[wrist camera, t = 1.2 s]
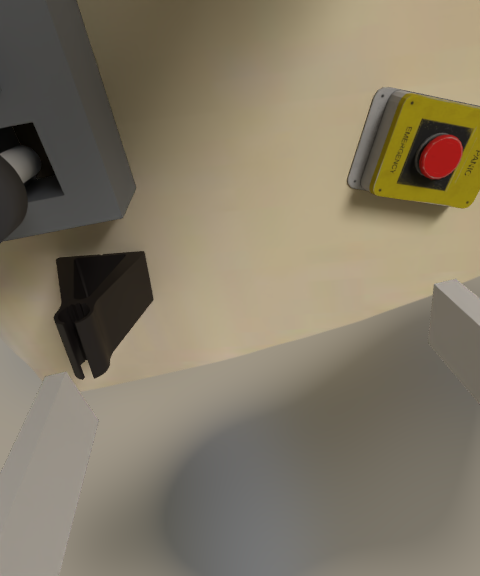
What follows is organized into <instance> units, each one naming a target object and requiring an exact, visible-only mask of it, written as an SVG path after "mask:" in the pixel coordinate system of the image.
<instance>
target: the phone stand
mask: <svg viewBox="0 0 480 576" xmlns="http://www.w3.org/2000/svg"><path fill="white" fill-rule="evenodd" d="M56 263H57V271H58V278H59V286H60V293H61V301H62V303H61V306H60V308H59V310H58V311H57V312H56V314H55V315H54V321H55V324H56V326H57V329H58V331H59V334H60V337H61V339H62V342H63V344H64V347H65V350H66V352H67V355H68V358H69V360H70V363H71V365H72V368H73V371H74V373H75V376H76V377H77V378H79V379H82V380H83V379H84V378H85V376H84V374H83V371H82V368H81V364H82V363H83V362H85V360H88V363H89V365H90V368H91V371H92V374H93V377H94V378H97V377H99V376H101V375H102V374H104V373H105V372H106V371H107V370H108V368H109V366H110V358H111V355H112V353H113V352H114V350H115V349H116V348H117V346H118V345H119V344H120V342H121V341H122V340H123V339H124V337H125V336H126V335H127V333H128V332H129V331H130V329H131V328H132V327H133V326H134V324H135V323H136V322H137V320H138V319H139V318H140V317H141V315H142V314H143V313H144V311H145V310H146V309H147V307H148V306H149V305H150V304H151V302H152V301H153V294H152V289H151V284H150V278H149V273H148V268H147V263H146V257H145V252H144V251H139V252H126V253H113V254H103V255H87V256H74V257H62V258H58V259H56Z"/></svg>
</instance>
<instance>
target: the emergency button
mask: <svg viewBox="0 0 480 576" xmlns="http://www.w3.org/2000/svg"><path fill="white" fill-rule="evenodd" d="M348 184H349V185H350V187H352V188H355V189H360V190H366V191H369V192H371V193H372V194H374V195H377V196H381V197H388V198H395V199H402V200H409V201H415V202H422V203H429V204H436V205H443V206H450V207H456V208H467V207H469V206H470V205H471V204H472V203H473V201H474V200H475V198H476V196H477V194H478V192H479V190H480V106H477V105H472V104H467V103H462V102H458V101H453V100H448V99H443V98H439V97H434V96H429V95H424V94H420V93H415V92H410V91H405V90H401V89H396V88H391V87H383V88H381V89H379V90H378V91H377V92H376V94H375V95H374V97H373V101H372V104H371V107H370V110H369V113H368V116H367V119H366V122H365V125H364V129H363V132H362V135H361V138H360V141H359V144H358V147H357V150H356V154H355V157H354V160H353V163H352V166H351V169H350V172H349V175H348Z"/></svg>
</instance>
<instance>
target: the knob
mask: <svg viewBox="0 0 480 576" xmlns="http://www.w3.org/2000/svg"><path fill="white" fill-rule="evenodd" d="M40 169H41V160H40V158H39V156H38V154H37V153H36V152H35V151H34V150H33V149H31V148H30V147H27V146H24V145H18V146H15V147H13V148H11V149H8V150H6V151H4V152H2V153H0V243H1V242H2V241H3V240H5V239H6V238H7V237H8V236H9V235H10V234H11V233H12V232H13V231H14V230H15V229H16V228H17V227H18V226H19V225H20V224H21V223H22V222H23V220H24V218H25V216H26V213H27V208H28V198H27V193H26V189H25V186H24V184H23V183H25V182H26V181H27V180H29V179H30V178H32V177H33V176H34V175H36V174H37V173H38V172H39V171H40Z"/></svg>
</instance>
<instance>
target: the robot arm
mask: <svg viewBox="0 0 480 576" xmlns="http://www.w3.org/2000/svg"><path fill="white" fill-rule="evenodd" d="M428 344H429V345H430V346H431V347H432V348H433V349H434V351H435V352H436V353H437V354H438V355H439V357H440V358H441V359H442V360H443V361H444V363H445V364H446V365H447V366H448V367H449V369H450V370H451V371H452V372H453V373H454V374H455V375H456V377H457V378H458V379H459V380H460V382H461V383H462V384H463V385H464V386H465V388H466V389H467V390H468V391H469V392H470V394H471V395H472V396H473V397H474V398H475V399H476V401H477V402H478V403H479V404H480V298H478V297H477V296H476V295H475V294H474V293H473V292H471V291H470V290H469V289H468V288H466V287H465V286H464V285H463V284H462V283H460V282H459V281H458V280H457V279H453V280H449V281H444V282H440V283H436V284H434V289H433V299H432V308H431V317H430V327H429V336H428ZM98 422H99V419H98V418H97V416H96V415H95V413H94V412H93V410H92V409H91V407H90V406H89V405H88V403H87V402H86V400H85V399H84V397H83V396H82V394H81V393H80V391H79V390H78V388H77V387H76V385H75V384H74V382H73V381H72V379H71V378H70V376H69V375H68V373H67V372H62V373H58V374H54V375H49V376H45V378H44V380H43V382H42V384H41V387H40V389H39V391H38V393H37V395H36V397H35V399H34V402H33V404H32V406H31V408H30V410H29V412H28V415H27V417H26V419H25V421H24V423H23V425H22V427H21V430H20V432H19V434H18V436H17V438H16V440H15V442H14V445H13V447H12V449H11V451H10V453H9V455H8V458H7V460H6V462H5V464H4V466H3V468H2V470H1V473H0V576H59V573H60V570H61V565H62V562H63V558H64V554H65V550H66V546H67V542H68V538H69V534H70V530H71V527H72V523H73V519H74V515H75V511H76V507H77V504H78V499H79V496H80V492H81V488H82V484H83V480H84V476H85V473H86V469H87V465H88V461H89V457H90V453H91V449H92V445H93V442H94V438H95V434H96V430H97V426H98Z"/></svg>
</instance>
